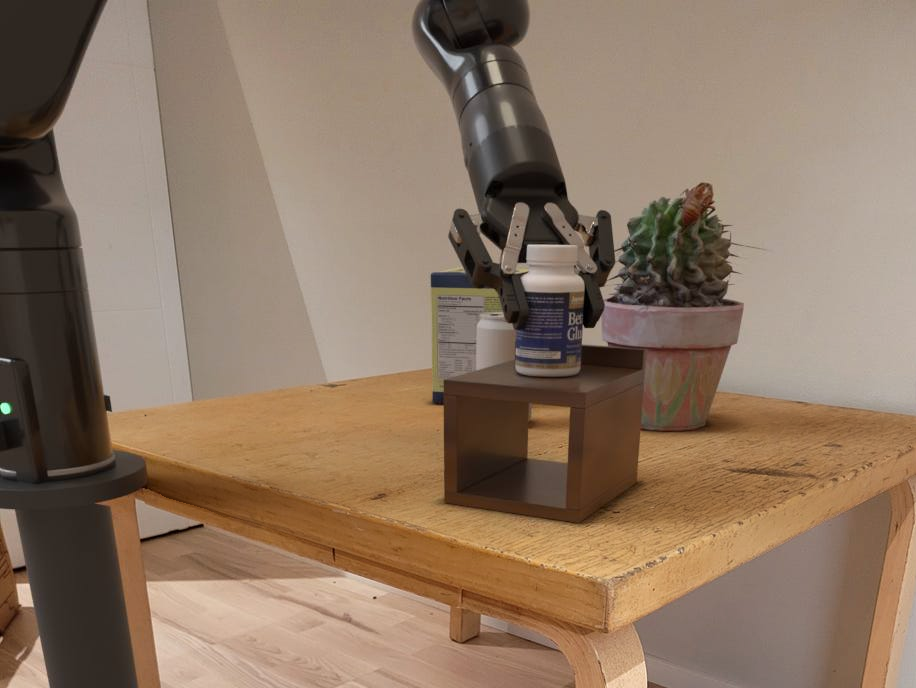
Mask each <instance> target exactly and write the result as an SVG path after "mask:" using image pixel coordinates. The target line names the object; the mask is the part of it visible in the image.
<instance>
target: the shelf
mask: <svg viewBox="0 0 916 688" xmlns="http://www.w3.org/2000/svg"><path fill="white" fill-rule="evenodd" d="M646 353H647V349H642V348H628V347H613V346H608V345H598V344H584V343H582V350H581V366H580V371H579V373H577V374H576V375H573V376H565V377H535V376H527V375H522V374H520V373H518V372H517V371H516V368H515V360H512V361H508V362H505V363H501V364H498V365H494V366H490V367H487V368H483V369H480V370H476V371H473V372H469V373H466V374H462V375H459V376H455V377H452V378H448V379H445V380H444V404H443V491H444V492H443V493H444V494H443V495H444V496H443V497H444V499H443V500H444V501H443V502H444V503H445V504H451V505H457V506H463V507H472V508H477V509H483V510H490V511H495V512H496V511H498V512H504V513H510V514H511V513H512V514H517V515H523V516H530V517H535V518H536V517H537V518H543V519H550V520H554V521H555V520H556V521H562V522H568V523H569V522H570V523H577V524H579V523H581V522H582V521H584V520H585V519H587V518H588V517H590V516H591V515H592V514H593V513H596V512H597V511H598V510H600V509H601V508H602V507H605V505H607V504H608V503H609V502H612V500H614V499H616V497H618V496H620V495H621V494H622V493H624V492H626V491H627V490H628V489H630V488H631V487H632V486H635V484H637V483H638V469H639V458H640V457H639V456H640V442H641V430H642V429H641V417H642V404H643V391H644V383H643V382H644V378H645V366H646ZM515 354H516V341H515ZM529 403H531V404H532V405H543V406H552V407H553V406H554V407H563V408H569V424H568V444H567V445H568V446H567V447H568V448H567V449H568V450H567V462H560V461H555V460H546V459H537V458H528V452H529V451H528V449H529V420H528V419H529Z"/></svg>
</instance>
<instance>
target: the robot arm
mask: <svg viewBox="0 0 916 688" xmlns="http://www.w3.org/2000/svg"><path fill="white" fill-rule="evenodd" d="M108 1H109V0H0V478H3V479H8V480H14V481H19V482H25V483H30V484H41V483H44V482H49V481H58V480H68V479H75V478H81V477H86V476H91V475H94V474H98V473H101V472H104V471H106V470H109V469H111V468H112V467H113V466H115V464H116V462H115V455H114V452H113V451H112V450H113V446H112V439H111V438H112V437H111V430H110V425H109V418H108V412H110V413H113V407H112V402H111V395H107V394H105V391H104V384H103V378H102V377H103V376H102V370H101V365H100V364H101V363H100V359H99V358H100V357H99V351H98V345H97V343H98V342H97V338H96V332H95V324H94V318H93V311H92V303H91V299H90V298H91V297H90V291H89V284H88V283H89V281H88V277H87V276H88V275H87V269H86V264H85V263H86V262H85V257H84V250H83V249H84V248H82V245H83V244H82V237H81V230H80V225H79V218H78V216H77V213H76V210H75V208H74V207H73V205H72V203H71V201H70V198H69V196H68V194H67V191H66V188H65V184H64V181H63V178H62V172H61V167H60V160H59V155H58V149H57V144H56V137H55V131H54V128H55V126H56V124H57V123H58V122H59V120H60V119H61V117H62V115H63V113H64V111H65V109H66V106H67V103H68V101H69V99H70V96H71V92H72V90H73V88H74V86H75V82H76V79H77V78H78V74H79V71H80V69H81V66H82V64H83V61H84V58H85V55H86V53H87V51H88V48H89V46H90V43H91V41H92V39H93V36H94V33H95V32H96V30H97V26H98V24H99V22H100V18H101V17H102V15H103V13H104V11H105V8H106V6H107V3H108ZM530 22H531V8H530V4H529V0H419V1H418V2H417V4H416V6H415V8H414V10H413V13H412V17H411V32H412V33H411V34H412V38H413V42H414V45H415V47H416V49H417V52H418V53H419V55H420V56H421V58H422V60H423V61H424V63H425V64H426V66H427V67H428V68H429V69H430V71H431V72H432V73H433V74H434V76H435V77H436V79H438V81H439V82H440V83H441V84H442V86H443V88H444V89H445V91H446V93H447V95H448V97H449V100H450V102H451V106H452V108H453V111H454V112H453V113H454V115H455V119H456V122H457V127H458V130H459V134H460V143H461V150H462V155H463V163H464V167H465V169H466V171H467V173H468V178H469V182H470V184H471V188H472V192H473V195H474V199H475V203H476V206H477V210H478V211H477V212H478V214H477V213H476V214H469V212H468V211H467V210H465V209H463V208H456V209H455V210H454V211H453V215H452V219H451V224H450V228H449V230H448V234H447V237H448V240H449V242H450V244H451V246H452V248H453V250H454V252H455V254H456V256H457V258H458V260H459V262H460V264H461V267H463V268H464V270H465V272H466V274H467V276H468V278H469V280H470V282H471V284H472V285H473V286H474V287H475V288H477V289H482V288H484V287H485V286H488V287H491V288H493V289H494V290H495V292H496V293H498V295H499V299H500V303H501V307H502V310H503V314H504V318H505V319H506V321H507V322H508V323H512V324H513V328H514V330H524V329H525V326H526V324H527V321H528V319H529V315H530V311H529V307H528V303H527V300H526V296H525V293H524V289H523V285H522V282H521V278H520V275H516V276H515V271H516V268H517V267H518V264H527V260H526V257H527V245H576V246H578V257H577V262H576V263H577V265H574V273H575V274H577V275H578V276H580V277H581V278H582V279H583V281H584V285H585V288H584V290H585V293H584V312H583V328H584V329H594V328H595V327H596V326H597V323H598V322H599V321H600V320H601V315H602V313H603V311H604V307H605V303H604V297H603V294H602V291H601V288H604V287H605V286H606V284H607V282H608V281H607V280H608V278H609V276H610V274H611V272H612V270H613V269H614V268H615V265H616V251H615V252H614V250H615V245H614V243H615V242H614V234H613V232H614V231H613V225H612V223H613V222H612V216H611V213H610V212H609V211H607V210H605V209H600V210H598V211H597V213H596V215H595V216H589V215H583V214H579V212H578V210H577V208H576V207H575V206H574V205H573V204H572V203H571V201H570V199H569V196H568V189H567V183H566V179H565V176H564V172H563V169H562V166H561V163H560V161H559V160H560V159H559V157H558V154H557V150H556V148H555V143H554V141H553V138H552V135H551V131H550V128H549V125H548V122H547V120H546V117H545V116H544V113H543V111H542V109H541V108H540V105H539V102H538V101H537V97H536V94H535V92H534V88H533V85H532V82H531V79H530V75H529V72H528V69H527V66H526V64H525V62H524V59H523V58H522V56H521V55H520V53H519V52H518V51H517V50H515V49H514V48H515V47H516V46H518V45H520V44H521V43H522V42H523V41H524V40H525V38H526V36H527V34H528V32H529V30H530V29H529V28H530V24H531V23H530ZM578 233H579V234H580V236H581V237H580V236H579V234H578ZM481 234H482V235H483V236H484V237H485V238H486V239H488V241H490V242H491V243H492V244H493V245H494V246H495V247H496V248H498V249H499V250H500V255H499V260H498V263H497V262H495V261H494V262H493V259H492V257H491V255H490V253H489V251H488V249H487V248H486V245H485V244H484V241H483V239H482V237H481V236H480V235H481ZM585 247H586V248H588V252H589V253H587V251H586V250H585ZM603 286H604V287H603Z"/></svg>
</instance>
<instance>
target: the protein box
mask: <svg viewBox="0 0 916 688" xmlns="http://www.w3.org/2000/svg"><path fill="white" fill-rule="evenodd" d="M528 272H529V268H522V267H521V268H517V267H516V271H515V276H516V275H520V277H521V276H523V275H524V274H527V273H528ZM430 312H431V314H430V315H431V316H430V318H431V319H430V321H431V386H432V387H431V388H432V390H431V393H432V396H431V398H432V404H439V405H444V380H445V379H448V378H452V377H455V376H459V375H462V374H466V373H469V372H473V371H476V337H477V324H478V323H479V321H480V320H481V317H480V314H481V313H488V312H503V310H502V307H501V303H500V299H499V295H498V293H496V292H495V290H494V289H493V288H491V287H488V286H485V287H484V288H482V289H477V288H475V287H474V286H473V285H472V284H471V282H470V280H469V278H468V276H467V274H466V272H465V270H464V268H463V266H459V267H456V268H451V269H445V270H440V271H434V272H431V273H430Z"/></svg>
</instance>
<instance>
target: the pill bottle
mask: <svg viewBox="0 0 916 688" xmlns="http://www.w3.org/2000/svg"><path fill="white" fill-rule="evenodd" d="M577 257H578V246H576V245H527V257H526V260H527V263H526V265H528V269H529V272H528V273H527V274H524V275H523V276H521V277H520V278H521V282H522V285H523V289H524V293H525V296H526V300H527V303H528V307H529V311H530V315H529V319H528V321H527V324H526V326H525V329H524V330H516V354H515V368H516V371H517V372H518V373H520V374H522V375H527V376H535V377H565V376H573V375H576V374H577V373H579V371H580V366H581V350H582V344H583V330H584V329H583V328H584V326H583V312H584V293H585V290H584V288H585V285H584V281H583V279H582V278H581V277H580V276H578V275H577V274H575V273H574V265H576V266H577V263H576V262H577Z"/></svg>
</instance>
